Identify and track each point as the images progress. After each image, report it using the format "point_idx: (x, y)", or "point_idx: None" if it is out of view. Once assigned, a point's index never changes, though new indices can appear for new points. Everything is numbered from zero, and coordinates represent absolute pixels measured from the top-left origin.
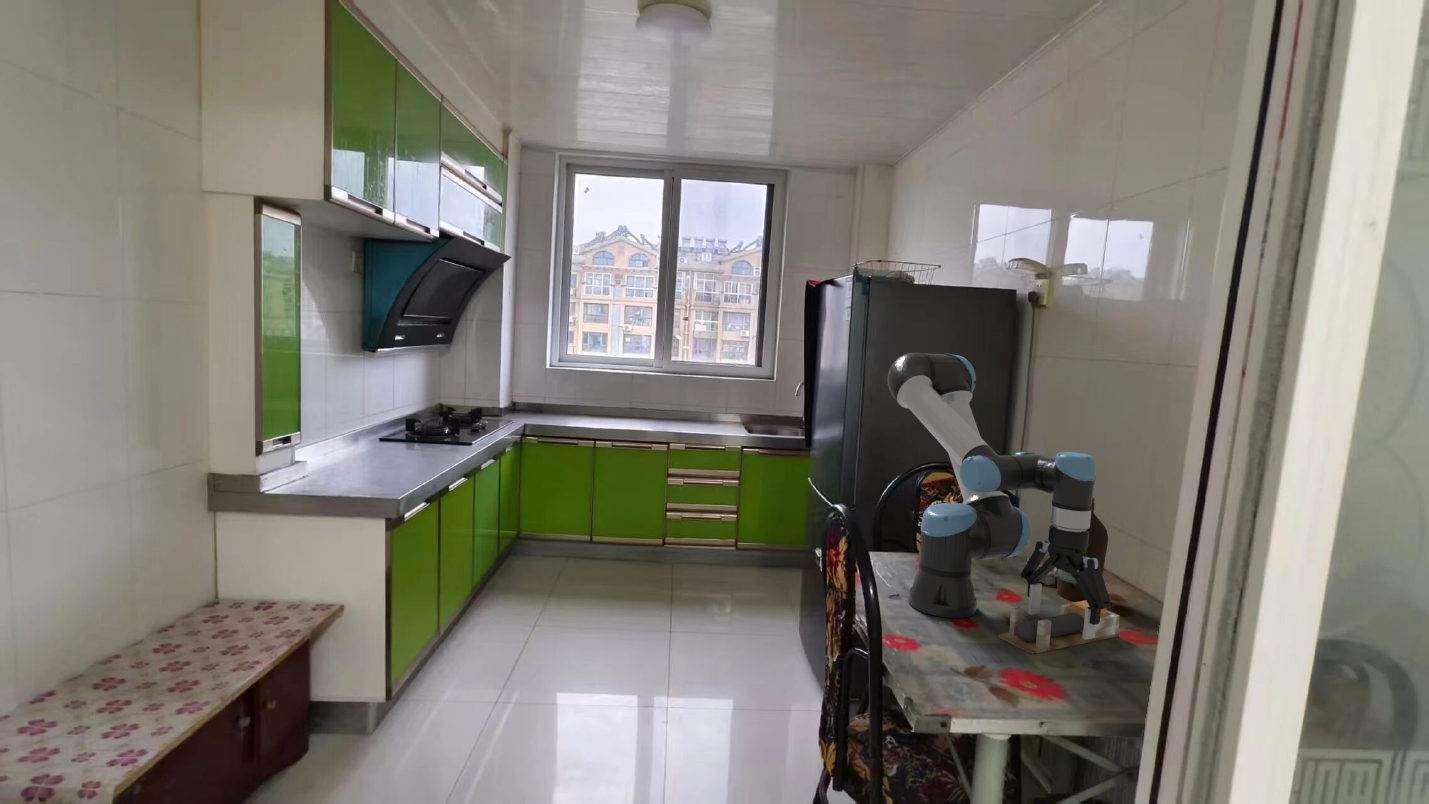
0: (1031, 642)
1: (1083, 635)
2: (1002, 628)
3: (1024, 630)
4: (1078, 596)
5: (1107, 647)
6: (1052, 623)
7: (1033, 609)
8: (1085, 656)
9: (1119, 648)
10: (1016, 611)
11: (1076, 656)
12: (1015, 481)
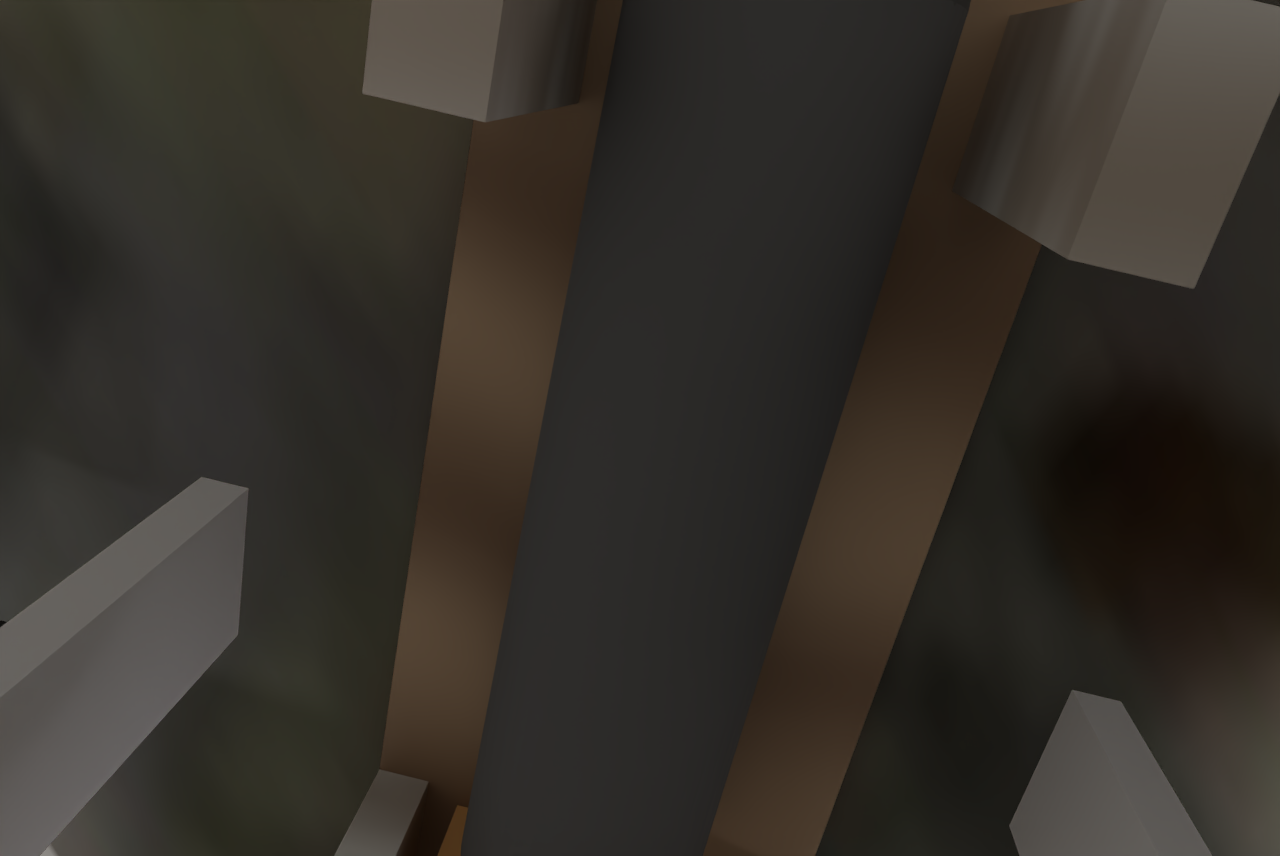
0: None
1: (216, 504)
2: (1260, 222)
3: None
4: None
5: (246, 718)
6: (579, 423)
7: (1076, 778)
8: (201, 311)
9: (185, 781)
10: (1152, 13)
11: (243, 217)
12: None
